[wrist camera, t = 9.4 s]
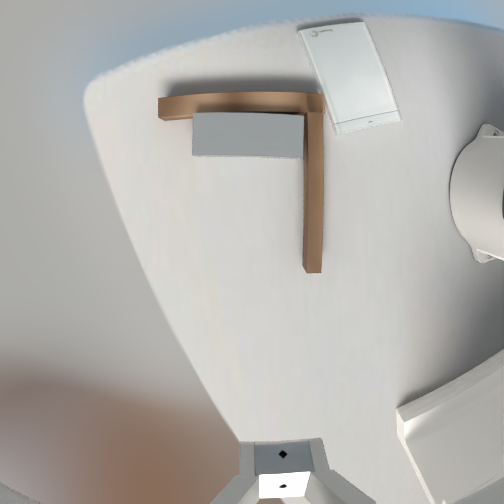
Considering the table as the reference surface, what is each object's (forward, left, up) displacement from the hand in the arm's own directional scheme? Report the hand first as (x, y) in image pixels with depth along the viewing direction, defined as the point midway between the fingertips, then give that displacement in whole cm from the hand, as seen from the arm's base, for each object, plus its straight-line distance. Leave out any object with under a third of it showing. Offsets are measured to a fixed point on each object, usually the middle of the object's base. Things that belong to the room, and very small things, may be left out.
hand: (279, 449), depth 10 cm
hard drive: (-11, -20, -25) cm, 34 cm away
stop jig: (+1, -8, -25) cm, 26 cm away
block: (-40, +24, -25) cm, 53 cm away
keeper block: (+1, -13, -25) cm, 28 cm away
